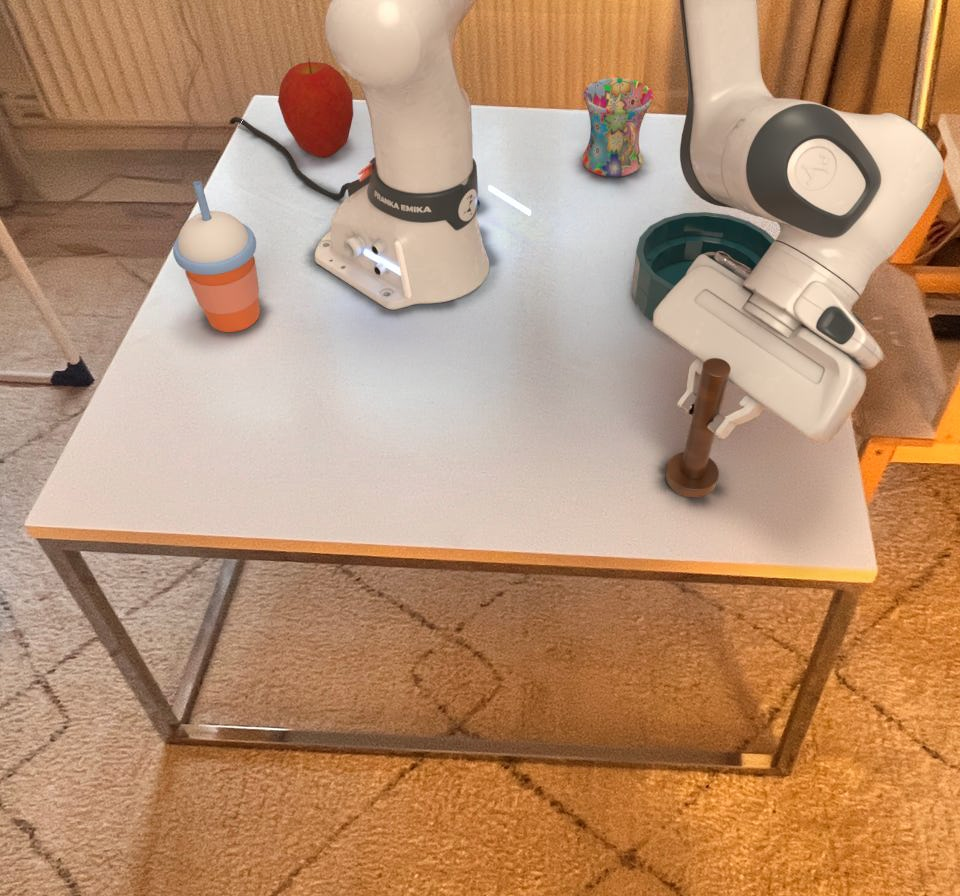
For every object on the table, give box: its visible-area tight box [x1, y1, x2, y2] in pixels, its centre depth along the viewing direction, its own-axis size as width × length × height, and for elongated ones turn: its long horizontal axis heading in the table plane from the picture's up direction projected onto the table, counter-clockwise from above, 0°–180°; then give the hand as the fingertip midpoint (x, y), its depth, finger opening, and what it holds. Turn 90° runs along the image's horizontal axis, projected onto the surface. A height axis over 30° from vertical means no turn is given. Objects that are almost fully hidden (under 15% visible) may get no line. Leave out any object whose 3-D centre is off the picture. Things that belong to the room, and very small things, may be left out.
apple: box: [277, 59, 354, 159], centre depth 131 cm, size 10×10×14 cm
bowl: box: [631, 211, 776, 322], centre depth 109 cm, size 17×17×6 cm
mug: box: [581, 77, 654, 178], centre depth 127 cm, size 12×9×11 cm
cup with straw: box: [172, 180, 261, 333], centre depth 104 cm, size 9×9×18 cm
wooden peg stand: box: [665, 358, 731, 498], centre depth 86 cm, size 5×5×15 cm
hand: (700, 422), depth 85 cm, fingers closed on wooden peg stand, 2 cm apart
